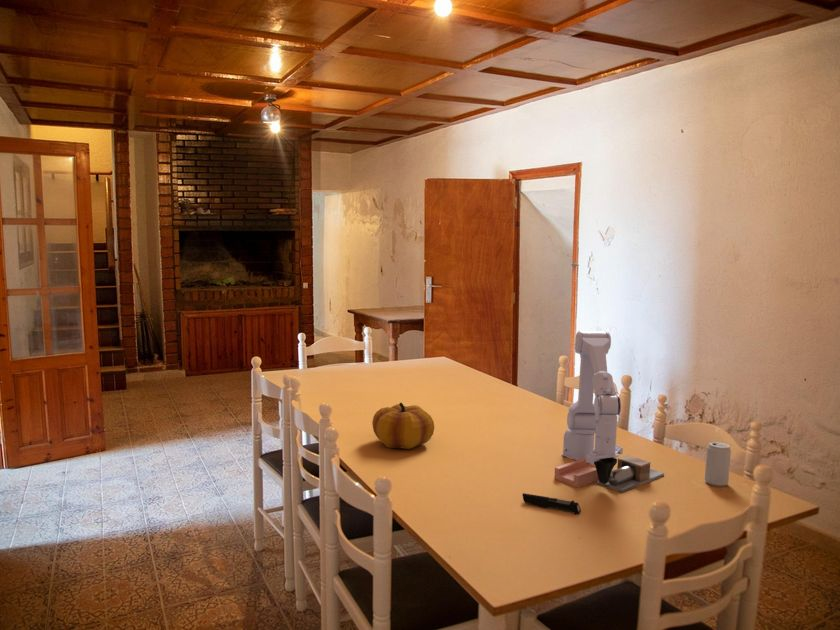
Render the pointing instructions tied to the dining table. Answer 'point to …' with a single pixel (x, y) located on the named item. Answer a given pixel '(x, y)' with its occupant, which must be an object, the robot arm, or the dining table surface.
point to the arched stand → (642, 474)
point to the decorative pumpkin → (403, 426)
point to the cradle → (576, 473)
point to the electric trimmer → (552, 503)
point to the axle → (622, 474)
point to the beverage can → (717, 464)
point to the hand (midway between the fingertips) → (603, 482)
